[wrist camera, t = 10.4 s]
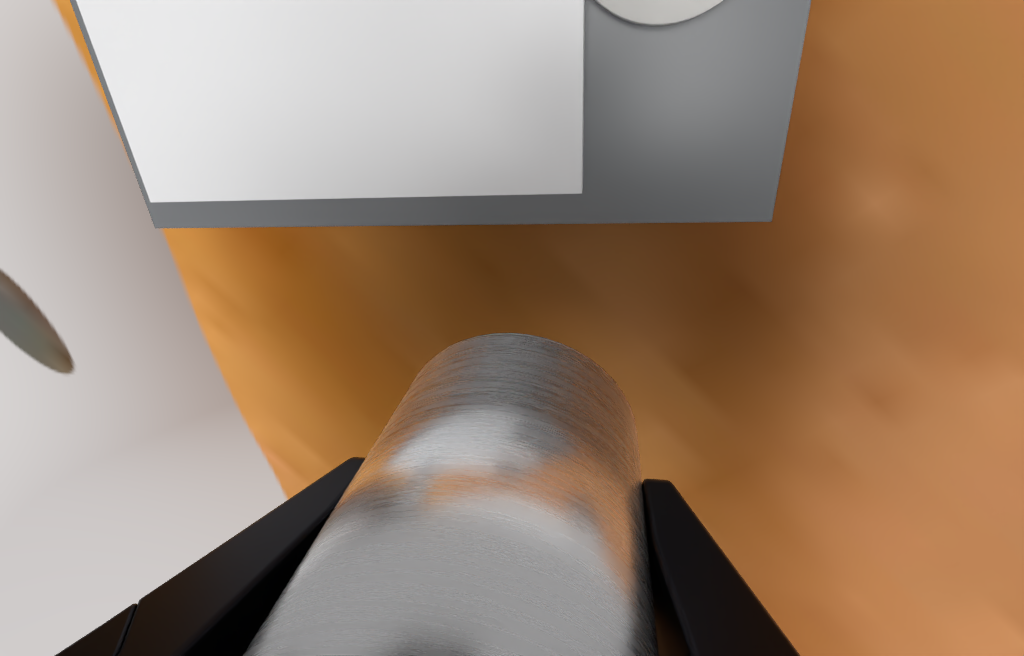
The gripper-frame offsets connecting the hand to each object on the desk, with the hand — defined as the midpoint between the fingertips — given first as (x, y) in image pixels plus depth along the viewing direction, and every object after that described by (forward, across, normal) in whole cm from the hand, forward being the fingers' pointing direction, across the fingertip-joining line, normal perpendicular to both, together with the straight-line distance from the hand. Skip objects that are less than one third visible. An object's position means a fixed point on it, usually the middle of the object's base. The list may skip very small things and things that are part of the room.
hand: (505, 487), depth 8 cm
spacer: (+1, 0, 0) cm, 1 cm away
